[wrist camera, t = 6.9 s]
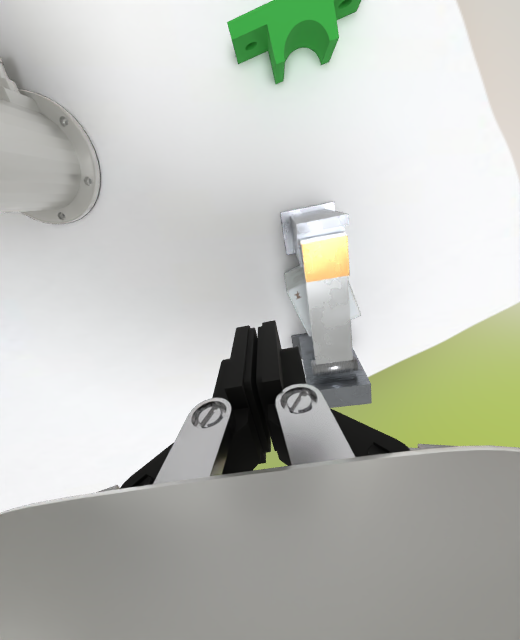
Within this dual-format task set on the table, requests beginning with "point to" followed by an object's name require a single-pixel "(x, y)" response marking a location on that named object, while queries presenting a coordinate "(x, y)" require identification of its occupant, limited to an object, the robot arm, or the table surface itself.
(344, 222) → the lug block
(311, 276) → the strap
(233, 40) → the pipe clamp
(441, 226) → the table surface
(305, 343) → the hinge post
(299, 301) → the product box
